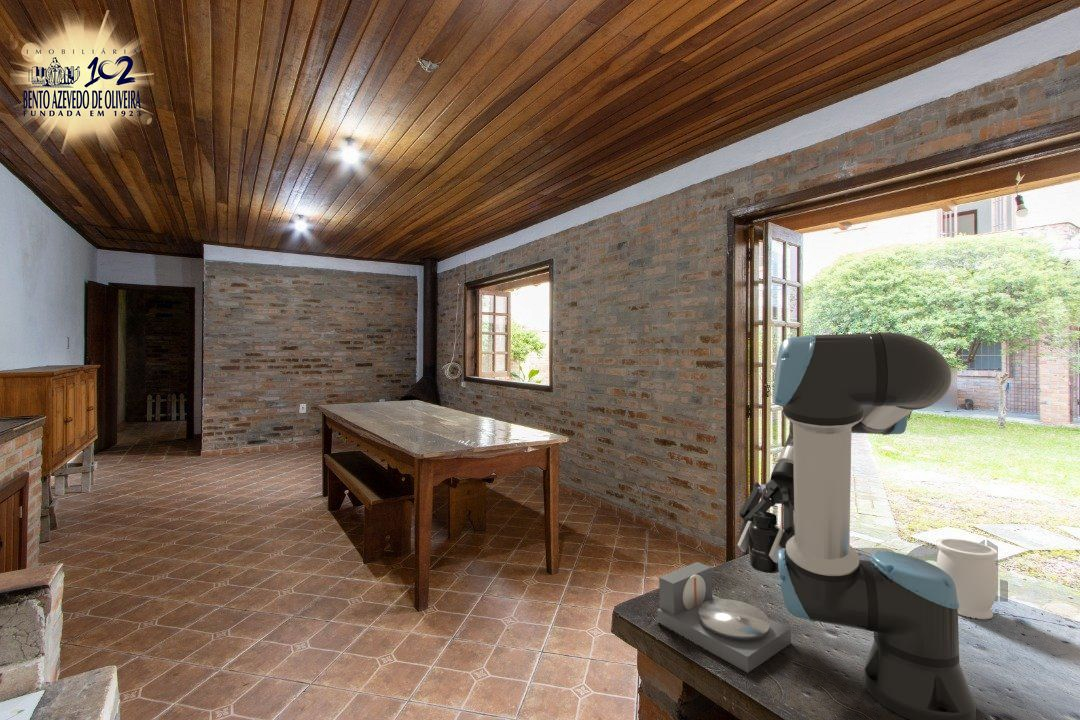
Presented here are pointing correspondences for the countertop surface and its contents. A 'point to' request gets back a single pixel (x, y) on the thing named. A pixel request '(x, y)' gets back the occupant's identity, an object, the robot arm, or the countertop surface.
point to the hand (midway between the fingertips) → (756, 553)
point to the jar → (970, 575)
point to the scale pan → (734, 619)
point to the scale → (681, 614)
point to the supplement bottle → (763, 542)
